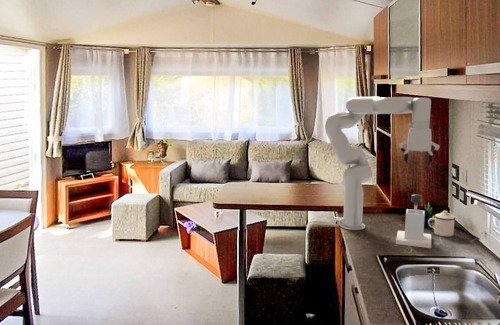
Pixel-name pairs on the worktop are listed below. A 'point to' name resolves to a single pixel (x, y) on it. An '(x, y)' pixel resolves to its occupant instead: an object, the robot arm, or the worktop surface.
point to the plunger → (416, 199)
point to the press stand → (414, 230)
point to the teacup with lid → (443, 224)
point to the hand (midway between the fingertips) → (417, 163)
